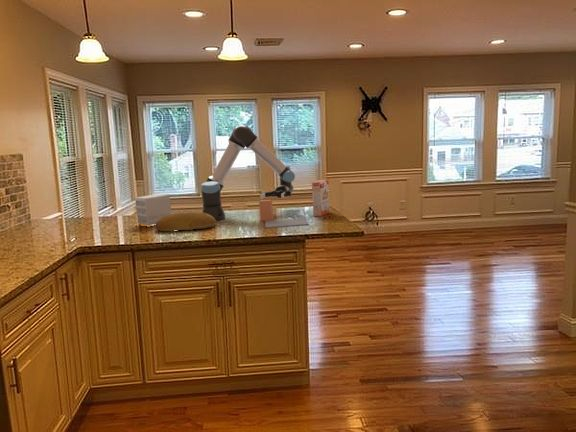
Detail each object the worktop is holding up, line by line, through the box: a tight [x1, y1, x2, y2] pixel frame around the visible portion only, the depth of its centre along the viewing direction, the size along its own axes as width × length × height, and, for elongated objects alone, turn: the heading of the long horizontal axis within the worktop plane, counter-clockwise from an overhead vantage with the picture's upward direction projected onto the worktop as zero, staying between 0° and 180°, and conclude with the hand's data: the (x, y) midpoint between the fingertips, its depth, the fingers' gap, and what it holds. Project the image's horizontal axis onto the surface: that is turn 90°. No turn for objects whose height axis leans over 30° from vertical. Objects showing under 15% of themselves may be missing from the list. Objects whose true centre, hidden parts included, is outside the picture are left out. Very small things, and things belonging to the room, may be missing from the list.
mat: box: [264, 217, 310, 229], centre depth 270 cm, size 24×19×1 cm
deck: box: [258, 199, 274, 222], centre depth 284 cm, size 4×7×12 cm, turn 73°
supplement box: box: [134, 193, 173, 225], centre depth 295 cm, size 17×13×18 cm
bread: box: [154, 211, 217, 232], centre depth 274 cm, size 18×35×10 cm, turn 91°
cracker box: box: [311, 179, 331, 217], centre depth 290 cm, size 14×6×21 cm, turn 154°
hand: (271, 196), depth 291 cm, fingers open, 13 cm apart
